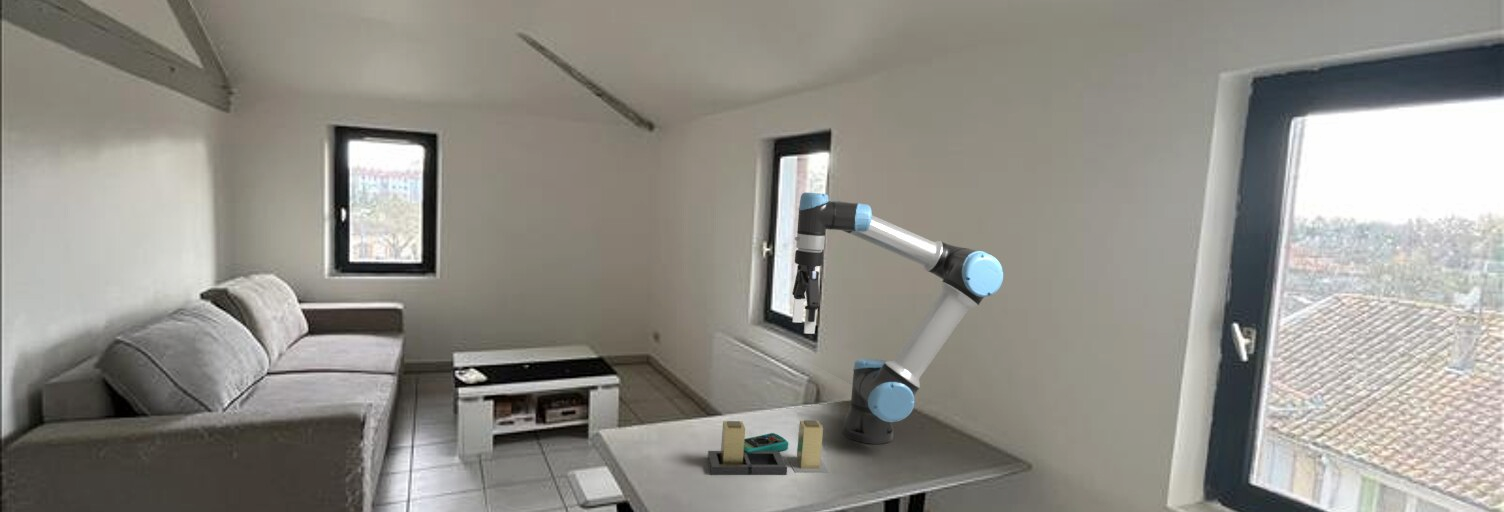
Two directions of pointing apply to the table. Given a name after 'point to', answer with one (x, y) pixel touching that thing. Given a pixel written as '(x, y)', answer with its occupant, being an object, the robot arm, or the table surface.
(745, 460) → the dark grey block holder
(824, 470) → the mat
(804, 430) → the tan rectangular block
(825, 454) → the table surface
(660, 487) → the table surface
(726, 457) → the gold rectangular block
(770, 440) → the digital multimeter
